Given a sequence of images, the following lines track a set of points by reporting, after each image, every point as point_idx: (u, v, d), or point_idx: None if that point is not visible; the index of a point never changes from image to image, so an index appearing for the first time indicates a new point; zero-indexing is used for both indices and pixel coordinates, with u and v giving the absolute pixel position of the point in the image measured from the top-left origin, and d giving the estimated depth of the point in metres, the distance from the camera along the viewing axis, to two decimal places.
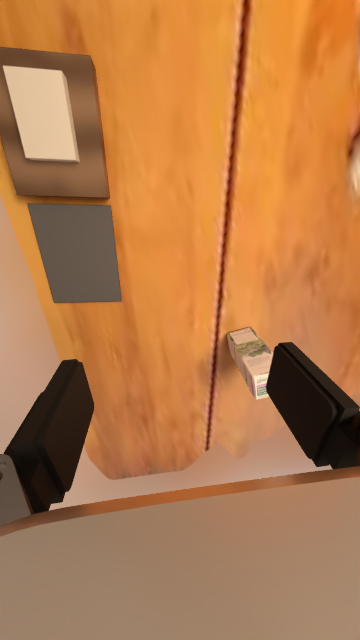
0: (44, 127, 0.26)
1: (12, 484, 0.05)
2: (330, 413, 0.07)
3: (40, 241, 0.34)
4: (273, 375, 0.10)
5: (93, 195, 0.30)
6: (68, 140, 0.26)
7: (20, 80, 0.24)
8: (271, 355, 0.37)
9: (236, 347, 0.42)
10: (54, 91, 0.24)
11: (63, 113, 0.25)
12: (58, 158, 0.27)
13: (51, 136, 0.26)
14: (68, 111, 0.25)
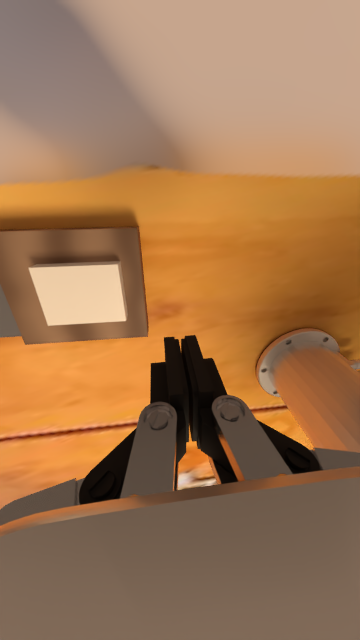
0: (71, 296, 0.21)
1: (170, 438, 0.06)
2: (193, 397, 0.08)
3: None
4: None
5: (21, 330, 0.24)
6: (66, 320, 0.22)
7: (108, 280, 0.21)
8: None
9: None
10: (107, 312, 0.22)
11: (90, 318, 0.22)
12: (42, 306, 0.21)
13: (63, 302, 0.21)
14: None
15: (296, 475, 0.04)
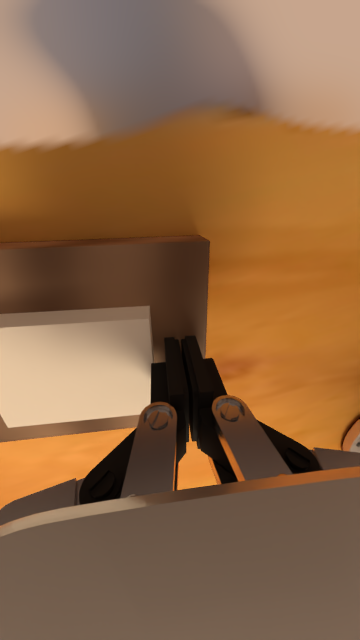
0: (51, 379, 0.10)
1: (171, 437, 0.06)
2: (193, 397, 0.08)
3: None
4: None
5: None
6: (42, 417, 0.11)
7: (128, 348, 0.10)
8: None
9: None
10: (124, 401, 0.11)
11: (90, 412, 0.12)
12: None
13: (36, 390, 0.11)
14: None
15: (296, 475, 0.04)
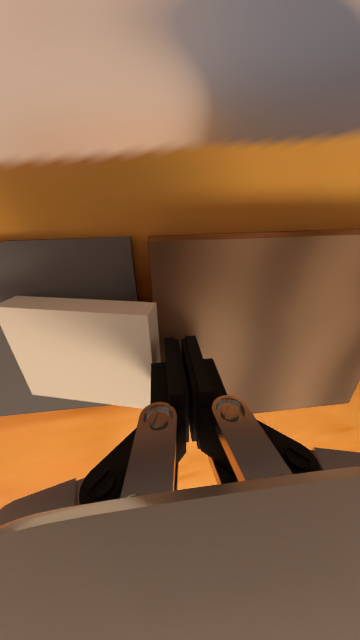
0: (63, 359, 0.11)
1: (170, 437, 0.06)
2: (193, 397, 0.08)
3: (23, 249, 0.11)
4: None
5: None
6: (58, 391, 0.13)
7: (128, 342, 0.10)
8: None
9: None
10: (125, 392, 0.12)
11: (96, 396, 0.12)
12: (22, 367, 0.12)
13: (52, 366, 0.12)
14: None
15: (296, 475, 0.04)
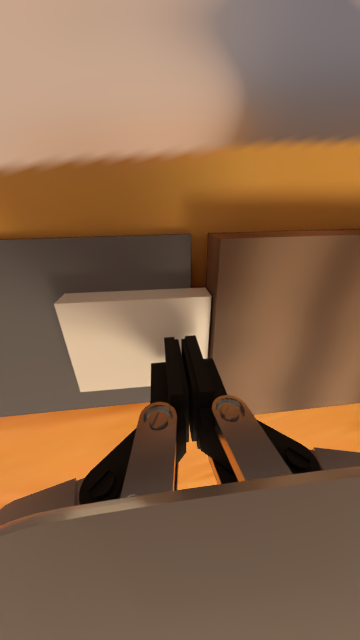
0: (123, 348, 0.12)
1: (170, 438, 0.06)
2: (193, 397, 0.08)
3: (88, 246, 0.11)
4: None
5: None
6: (110, 383, 0.13)
7: (191, 322, 0.12)
8: None
9: None
10: None
11: None
12: (74, 364, 0.12)
13: (110, 358, 0.12)
14: None
15: (296, 475, 0.04)
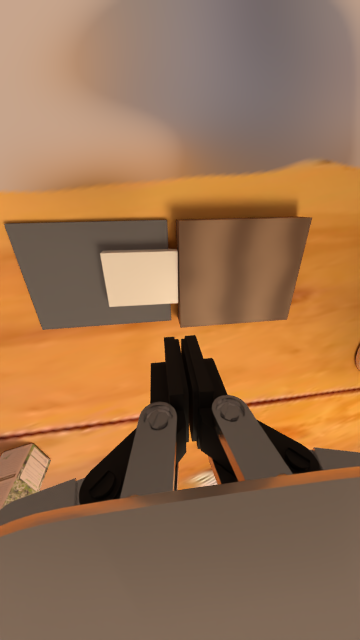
0: (133, 280, 0.24)
1: (170, 437, 0.06)
2: (193, 397, 0.08)
3: (115, 225, 0.22)
4: None
5: (181, 314, 0.26)
6: (125, 301, 0.25)
7: (168, 265, 0.23)
8: None
9: (15, 482, 0.31)
10: (163, 294, 0.25)
11: (147, 300, 0.25)
12: (107, 289, 0.24)
13: (126, 285, 0.24)
14: None
15: (296, 475, 0.04)
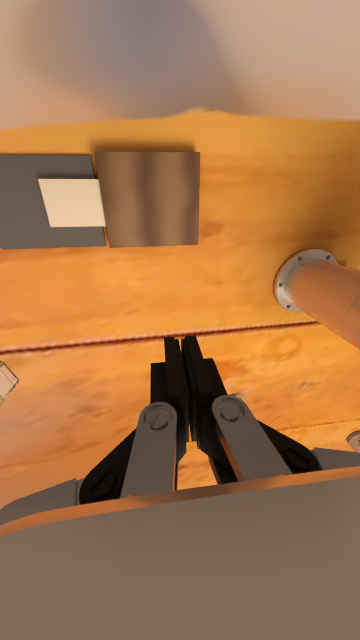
0: (66, 203, 0.31)
1: (170, 438, 0.06)
2: (193, 397, 0.08)
3: (50, 158, 0.29)
4: None
5: (109, 235, 0.33)
6: (63, 222, 0.32)
7: (93, 191, 0.30)
8: None
9: None
10: (92, 218, 0.32)
11: (80, 222, 0.32)
12: (47, 210, 0.31)
13: (61, 208, 0.31)
14: None
15: (296, 475, 0.04)
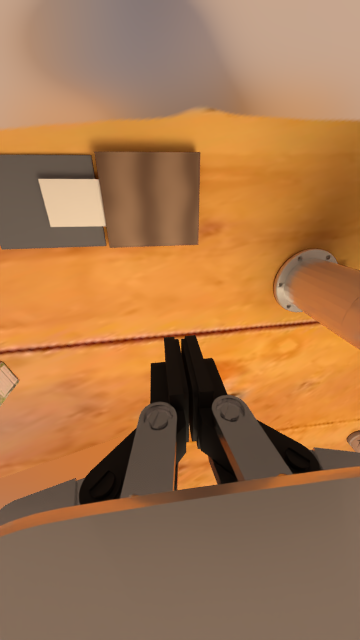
0: (67, 203, 0.31)
1: (170, 437, 0.06)
2: (193, 397, 0.08)
3: (51, 158, 0.29)
4: None
5: (109, 235, 0.33)
6: (63, 222, 0.32)
7: (93, 191, 0.30)
8: None
9: None
10: (92, 218, 0.32)
11: (80, 222, 0.32)
12: (47, 210, 0.31)
13: (61, 208, 0.31)
14: None
15: (296, 475, 0.04)
